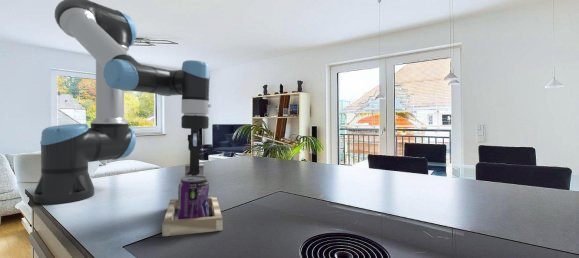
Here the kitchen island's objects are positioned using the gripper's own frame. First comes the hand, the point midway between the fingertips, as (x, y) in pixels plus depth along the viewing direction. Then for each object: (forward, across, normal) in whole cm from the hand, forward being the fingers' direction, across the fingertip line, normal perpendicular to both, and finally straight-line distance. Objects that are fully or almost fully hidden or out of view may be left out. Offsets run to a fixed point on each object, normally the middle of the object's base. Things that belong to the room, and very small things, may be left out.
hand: (193, 194), depth 81 cm
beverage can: (+4, -14, 0) cm, 15 cm away
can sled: (+4, -9, 0) cm, 10 cm away
